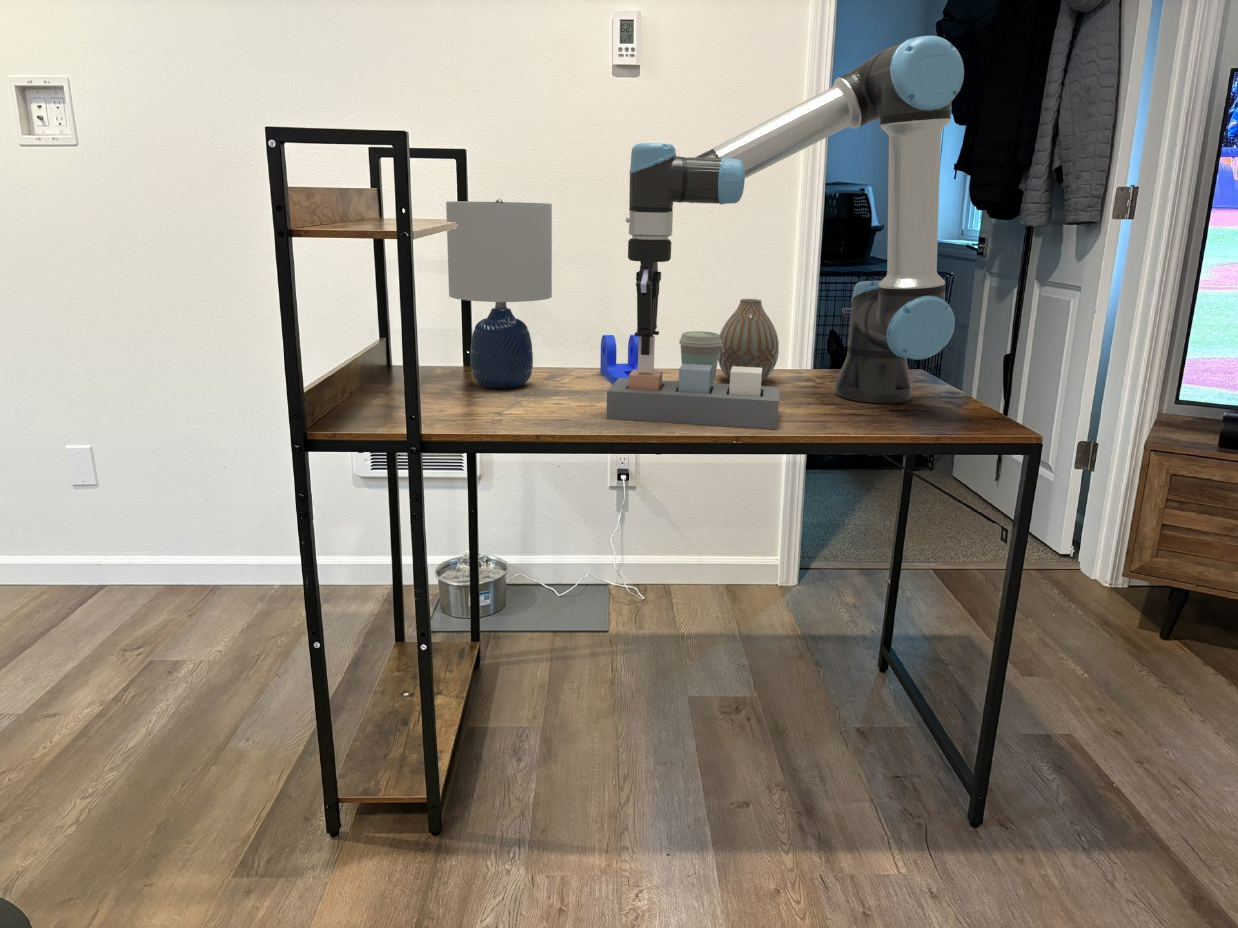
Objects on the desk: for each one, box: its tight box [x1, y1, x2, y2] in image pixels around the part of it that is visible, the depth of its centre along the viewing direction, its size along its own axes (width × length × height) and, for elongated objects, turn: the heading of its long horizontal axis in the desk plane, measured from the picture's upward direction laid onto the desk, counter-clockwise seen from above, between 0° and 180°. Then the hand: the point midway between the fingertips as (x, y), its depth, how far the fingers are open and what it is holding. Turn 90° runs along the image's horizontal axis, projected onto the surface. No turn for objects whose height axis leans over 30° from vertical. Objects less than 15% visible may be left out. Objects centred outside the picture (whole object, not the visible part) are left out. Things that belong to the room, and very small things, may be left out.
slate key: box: [678, 363, 712, 394], centre depth 163 cm, size 5×5×4 cm
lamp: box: [445, 198, 553, 390], centre depth 181 cm, size 20×20×37 cm
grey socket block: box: [606, 378, 780, 430], centre depth 164 cm, size 30×12×5 cm, turn 80°
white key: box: [729, 366, 762, 397], centre depth 161 cm, size 5×5×4 cm
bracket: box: [599, 334, 639, 385], centre depth 194 cm, size 18×8×9 cm, turn 12°
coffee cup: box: [678, 330, 722, 383], centre depth 182 cm, size 9×8×12 cm
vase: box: [718, 298, 780, 383], centre depth 194 cm, size 13×13×18 cm
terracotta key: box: [628, 370, 663, 391], centre depth 165 cm, size 5×5×4 cm
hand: (645, 371), depth 164 cm, fingers closed
